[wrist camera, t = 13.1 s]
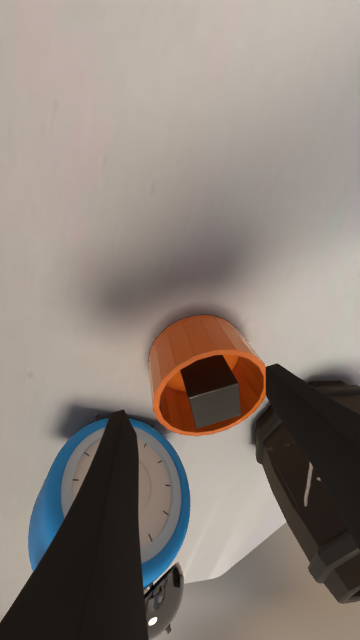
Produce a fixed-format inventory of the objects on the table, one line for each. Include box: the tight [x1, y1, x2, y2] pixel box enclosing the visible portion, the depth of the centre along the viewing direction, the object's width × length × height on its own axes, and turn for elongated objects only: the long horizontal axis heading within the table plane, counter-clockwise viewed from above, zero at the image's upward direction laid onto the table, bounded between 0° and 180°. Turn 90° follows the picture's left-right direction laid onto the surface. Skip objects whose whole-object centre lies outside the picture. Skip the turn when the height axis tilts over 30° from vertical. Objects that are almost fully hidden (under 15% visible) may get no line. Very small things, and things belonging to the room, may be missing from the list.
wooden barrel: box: [256, 381, 360, 604], centre depth 26 cm, size 18×18×16 cm
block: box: [180, 355, 241, 429], centre depth 20 cm, size 4×4×6 cm
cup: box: [149, 315, 266, 436], centre depth 21 cm, size 10×10×6 cm
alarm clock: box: [28, 415, 190, 640], centre depth 20 cm, size 13×6×15 cm, turn 61°
